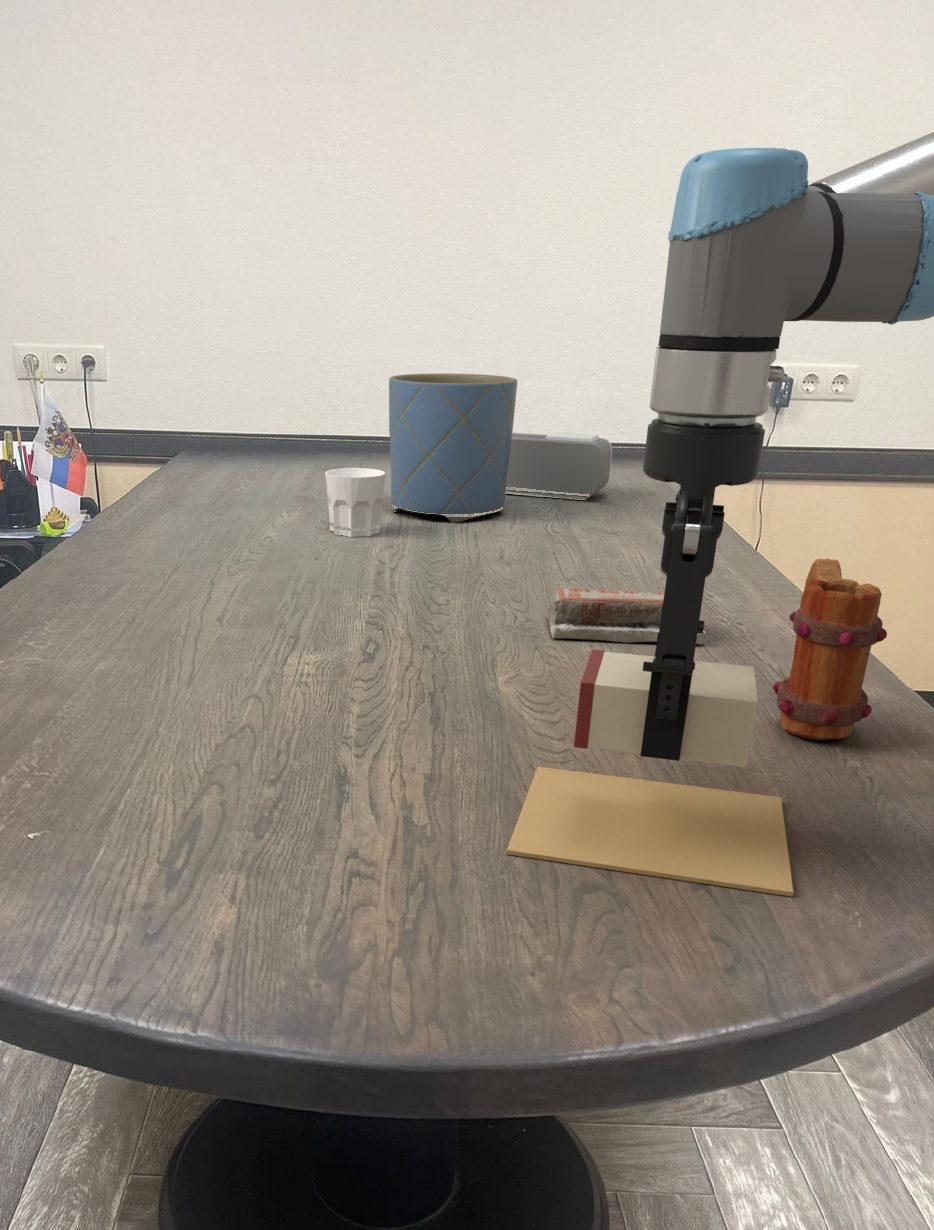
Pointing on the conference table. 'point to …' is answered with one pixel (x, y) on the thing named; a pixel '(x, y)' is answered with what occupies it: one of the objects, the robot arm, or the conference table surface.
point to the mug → (830, 655)
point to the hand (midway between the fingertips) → (662, 734)
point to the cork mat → (655, 830)
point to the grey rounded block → (559, 463)
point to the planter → (450, 442)
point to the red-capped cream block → (711, 719)
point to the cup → (355, 499)
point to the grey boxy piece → (606, 615)
